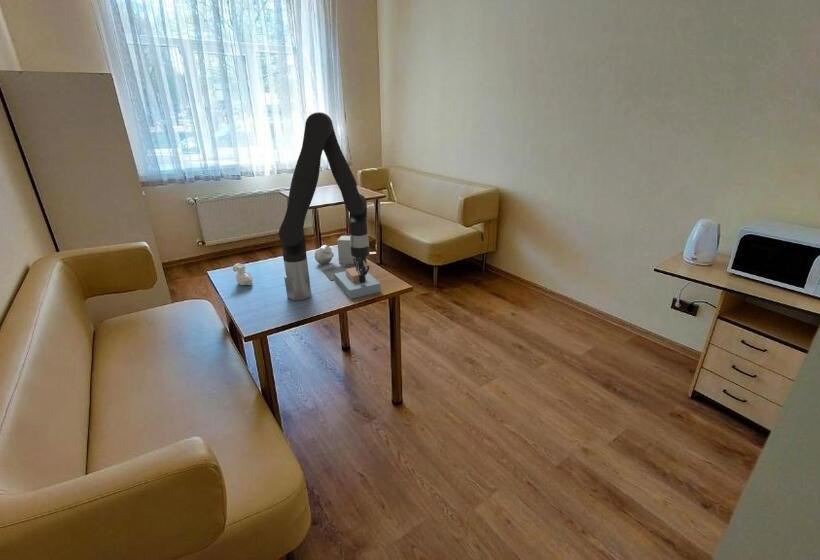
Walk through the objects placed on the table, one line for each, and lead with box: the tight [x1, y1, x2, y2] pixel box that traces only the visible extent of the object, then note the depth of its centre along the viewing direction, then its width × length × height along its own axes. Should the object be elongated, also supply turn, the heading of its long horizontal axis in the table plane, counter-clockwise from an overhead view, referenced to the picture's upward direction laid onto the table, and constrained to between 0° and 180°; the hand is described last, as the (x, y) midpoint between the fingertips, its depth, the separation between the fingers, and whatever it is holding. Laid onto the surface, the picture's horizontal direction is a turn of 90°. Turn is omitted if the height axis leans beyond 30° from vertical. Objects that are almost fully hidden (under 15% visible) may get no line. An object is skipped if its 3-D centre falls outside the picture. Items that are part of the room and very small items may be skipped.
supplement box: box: [336, 235, 355, 265], centre depth 209 cm, size 7×7×13 cm
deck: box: [334, 271, 381, 300], centre depth 183 cm, size 20×14×4 cm
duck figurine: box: [232, 262, 253, 286], centre depth 186 cm, size 12×8×11 cm
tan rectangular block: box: [345, 267, 366, 283], centre depth 182 cm, size 9×6×3 cm, turn 28°
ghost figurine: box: [314, 244, 335, 266], centre depth 206 cm, size 9×10×10 cm
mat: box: [321, 263, 355, 282], centre depth 198 cm, size 14×17×1 cm
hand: (362, 282), depth 176 cm, fingers closed
